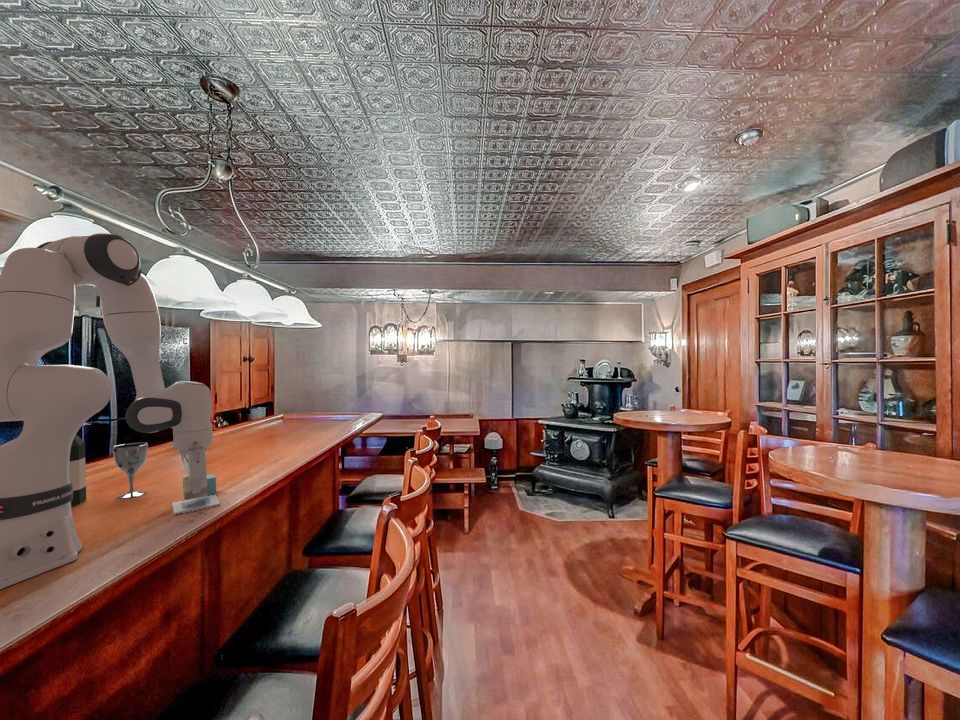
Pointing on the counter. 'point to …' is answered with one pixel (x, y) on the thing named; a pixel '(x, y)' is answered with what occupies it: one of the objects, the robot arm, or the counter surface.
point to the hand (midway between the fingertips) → (194, 490)
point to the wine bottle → (77, 470)
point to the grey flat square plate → (195, 504)
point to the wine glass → (130, 463)
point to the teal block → (211, 484)
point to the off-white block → (188, 489)
